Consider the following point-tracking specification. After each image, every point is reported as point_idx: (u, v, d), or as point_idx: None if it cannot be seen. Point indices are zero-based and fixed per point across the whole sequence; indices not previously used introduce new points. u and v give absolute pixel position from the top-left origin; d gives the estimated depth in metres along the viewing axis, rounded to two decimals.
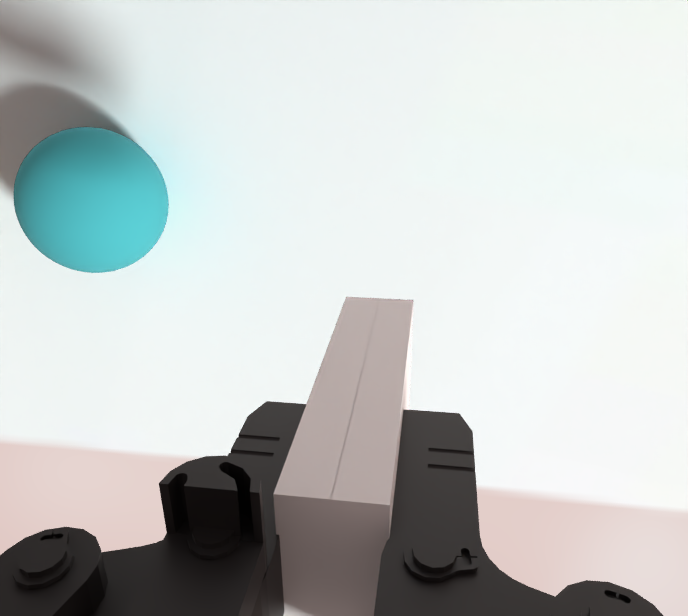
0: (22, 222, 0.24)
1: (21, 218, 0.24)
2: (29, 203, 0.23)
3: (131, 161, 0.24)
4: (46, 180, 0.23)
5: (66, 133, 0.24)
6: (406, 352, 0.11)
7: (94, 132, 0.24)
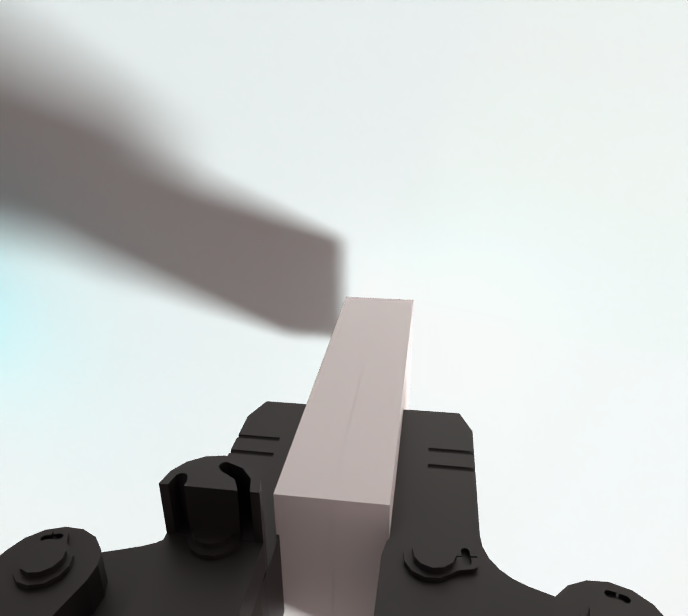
0: None
1: None
2: None
3: None
4: None
5: None
6: (406, 352, 0.11)
7: None
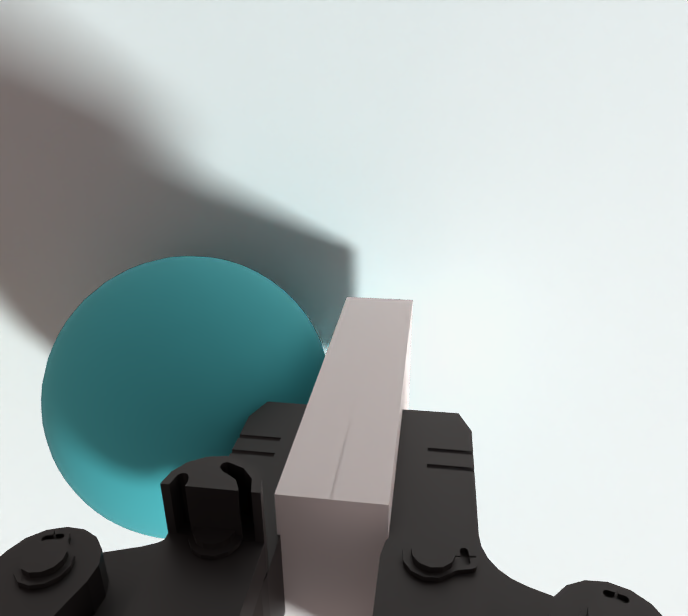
0: (56, 457, 0.12)
1: (55, 450, 0.12)
2: (77, 434, 0.11)
3: (289, 345, 0.12)
4: (120, 395, 0.11)
5: (162, 280, 0.12)
6: (406, 352, 0.11)
7: (218, 280, 0.12)
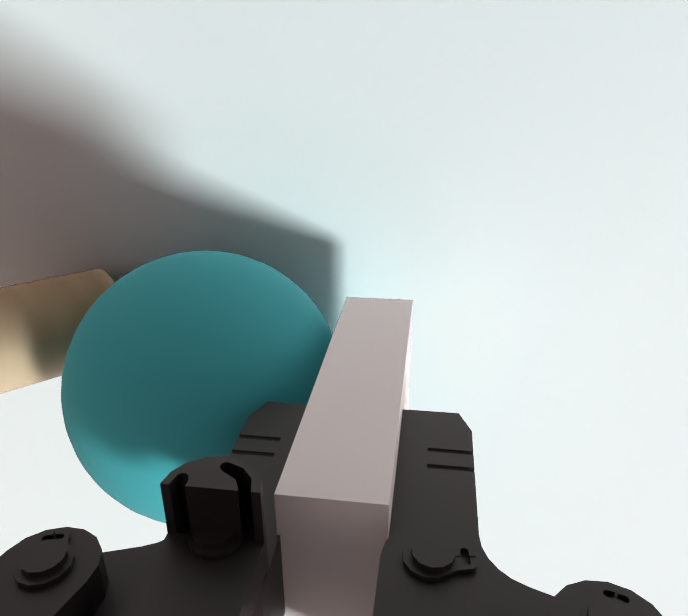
0: None
1: (65, 423, 0.13)
2: (69, 417, 0.12)
3: (269, 364, 0.12)
4: (95, 392, 0.11)
5: (159, 282, 0.12)
6: (406, 352, 0.11)
7: (211, 286, 0.12)
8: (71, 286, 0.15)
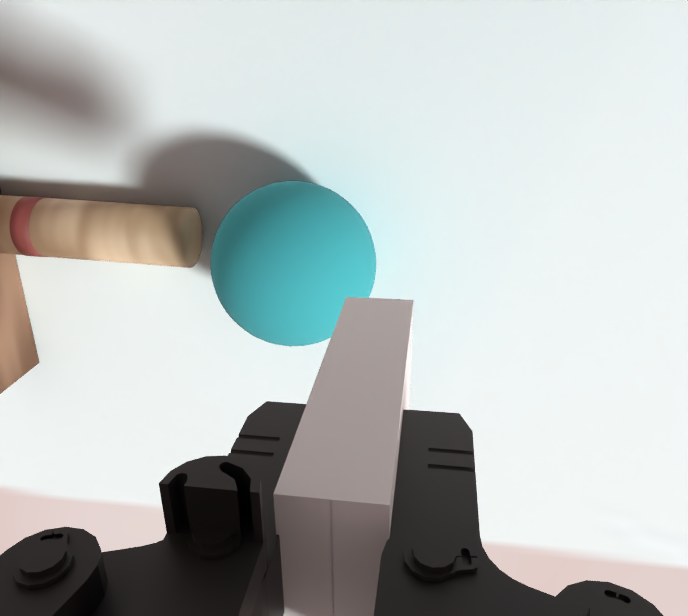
0: (214, 286, 0.22)
1: (213, 282, 0.22)
2: (220, 271, 0.21)
3: (335, 236, 0.20)
4: (239, 253, 0.20)
5: (270, 193, 0.21)
6: (406, 352, 0.11)
7: (300, 195, 0.21)
8: (160, 214, 0.24)
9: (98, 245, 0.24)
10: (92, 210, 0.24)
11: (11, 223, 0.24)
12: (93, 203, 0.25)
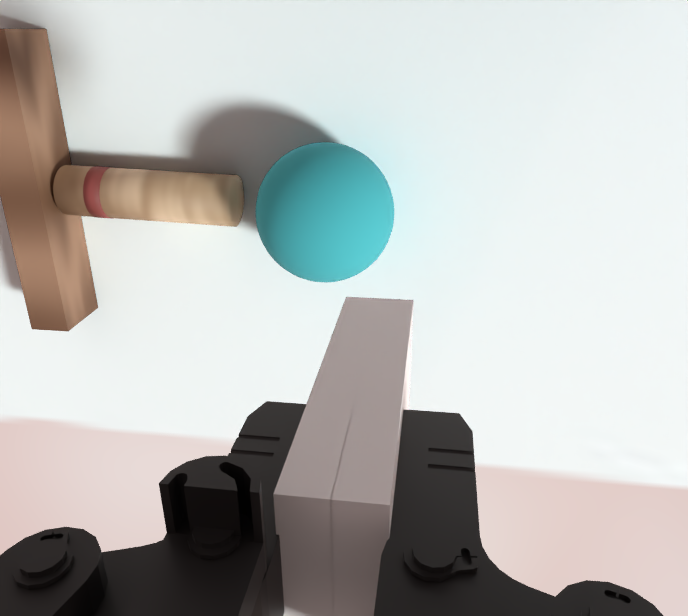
0: (259, 230, 0.26)
1: (258, 227, 0.26)
2: (265, 216, 0.25)
3: (361, 186, 0.25)
4: (282, 199, 0.24)
5: (307, 151, 0.25)
6: (406, 352, 0.11)
7: (332, 152, 0.25)
8: (208, 186, 0.28)
9: (159, 213, 0.29)
10: (150, 183, 0.29)
11: (85, 196, 0.29)
12: (150, 175, 0.29)
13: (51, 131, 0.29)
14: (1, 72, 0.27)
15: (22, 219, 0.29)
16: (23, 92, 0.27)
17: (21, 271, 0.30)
